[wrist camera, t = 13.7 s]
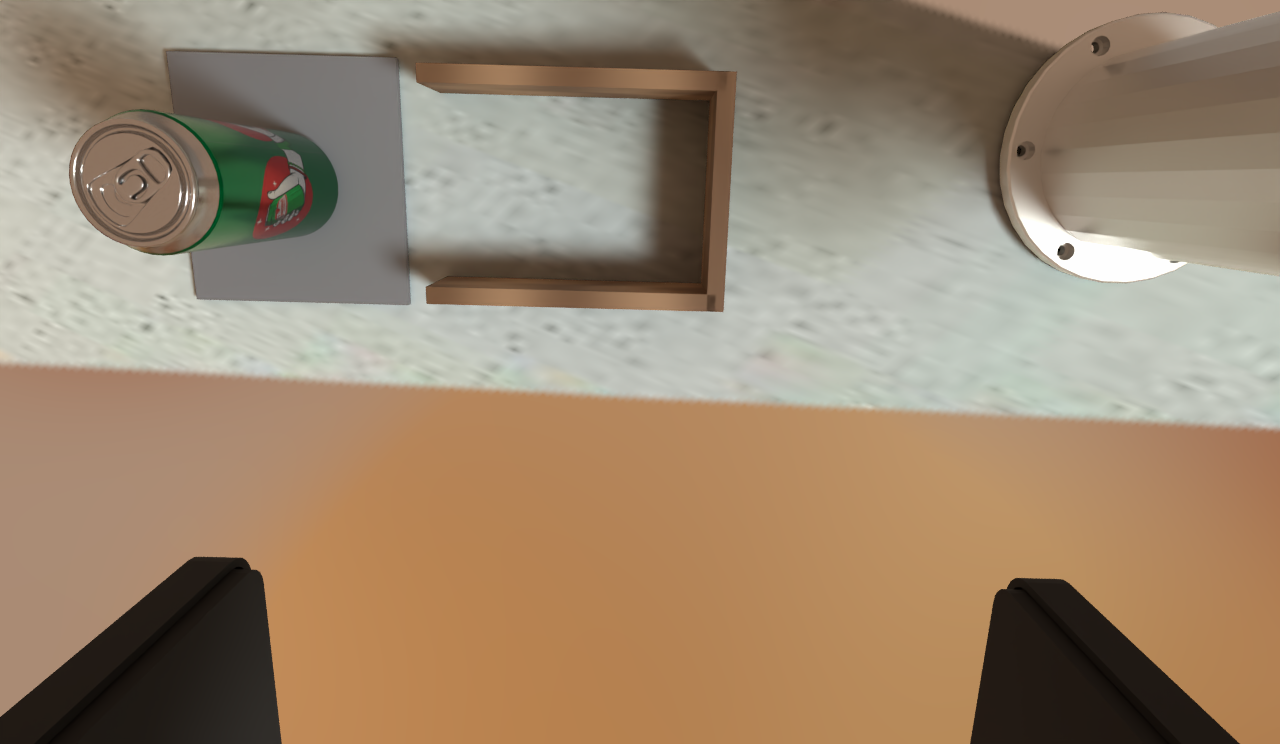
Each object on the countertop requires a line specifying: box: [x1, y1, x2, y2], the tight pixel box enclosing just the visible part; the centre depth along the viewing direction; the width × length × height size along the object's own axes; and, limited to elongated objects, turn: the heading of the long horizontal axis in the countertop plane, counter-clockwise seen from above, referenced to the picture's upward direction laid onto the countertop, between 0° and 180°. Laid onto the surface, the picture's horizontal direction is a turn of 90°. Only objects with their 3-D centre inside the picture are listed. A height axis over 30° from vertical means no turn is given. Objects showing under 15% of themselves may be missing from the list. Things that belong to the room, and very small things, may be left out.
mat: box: [166, 51, 411, 305], centre depth 37 cm, size 11×12×1 cm
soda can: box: [69, 109, 338, 255], centre depth 31 cm, size 5×5×12 cm
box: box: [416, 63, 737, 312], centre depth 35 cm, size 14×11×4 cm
